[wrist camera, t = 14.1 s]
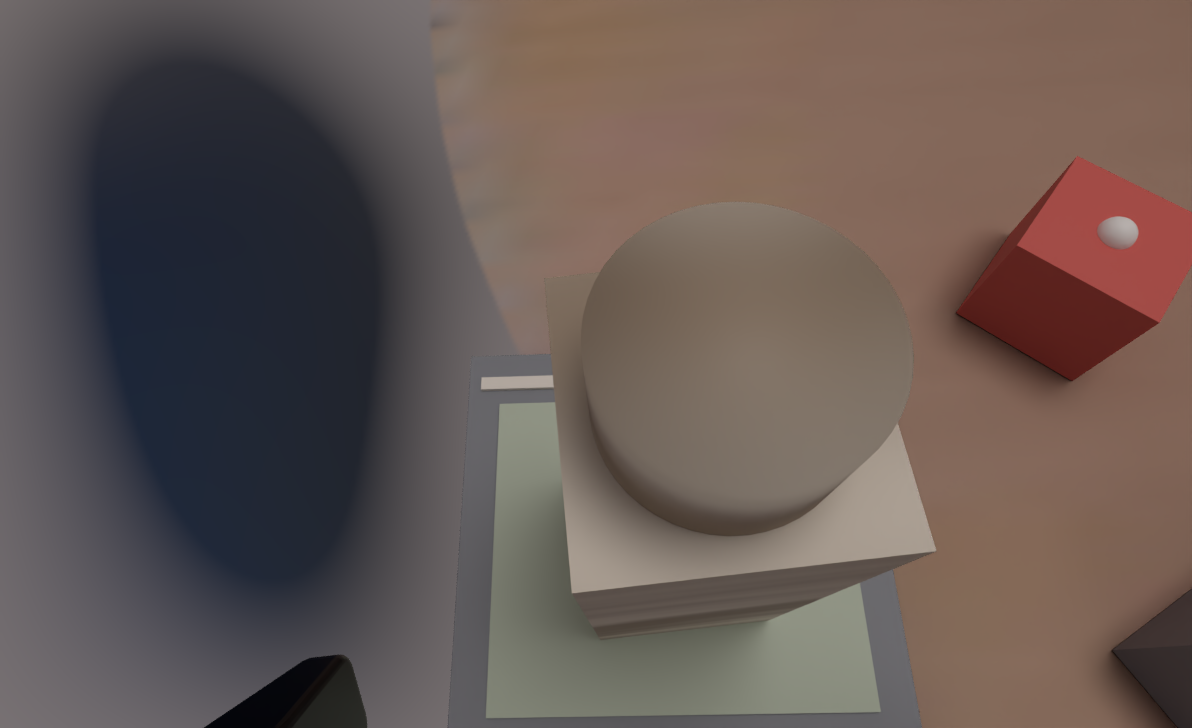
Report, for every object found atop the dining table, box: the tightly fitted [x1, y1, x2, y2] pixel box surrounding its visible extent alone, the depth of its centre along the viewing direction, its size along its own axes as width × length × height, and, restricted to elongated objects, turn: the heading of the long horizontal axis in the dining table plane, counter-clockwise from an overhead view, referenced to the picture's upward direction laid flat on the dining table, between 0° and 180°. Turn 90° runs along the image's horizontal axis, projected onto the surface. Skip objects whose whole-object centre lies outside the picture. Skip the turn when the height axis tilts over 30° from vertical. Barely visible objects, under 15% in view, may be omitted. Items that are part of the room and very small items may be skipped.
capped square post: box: [544, 202, 936, 640], centre depth 14 cm, size 4×4×13 cm
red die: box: [956, 156, 1192, 381], centre depth 21 cm, size 4×4×4 cm
